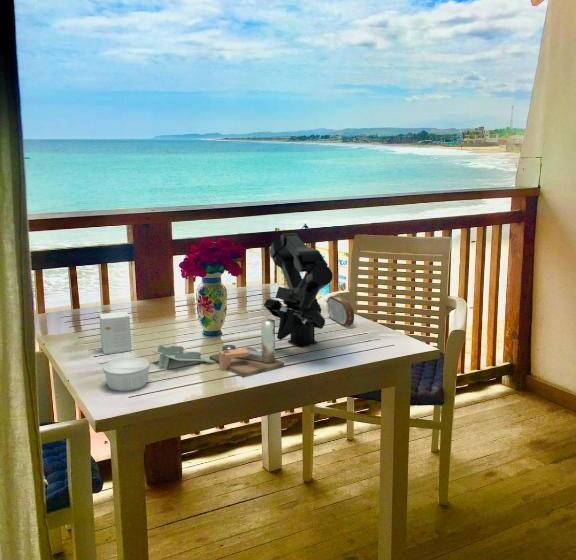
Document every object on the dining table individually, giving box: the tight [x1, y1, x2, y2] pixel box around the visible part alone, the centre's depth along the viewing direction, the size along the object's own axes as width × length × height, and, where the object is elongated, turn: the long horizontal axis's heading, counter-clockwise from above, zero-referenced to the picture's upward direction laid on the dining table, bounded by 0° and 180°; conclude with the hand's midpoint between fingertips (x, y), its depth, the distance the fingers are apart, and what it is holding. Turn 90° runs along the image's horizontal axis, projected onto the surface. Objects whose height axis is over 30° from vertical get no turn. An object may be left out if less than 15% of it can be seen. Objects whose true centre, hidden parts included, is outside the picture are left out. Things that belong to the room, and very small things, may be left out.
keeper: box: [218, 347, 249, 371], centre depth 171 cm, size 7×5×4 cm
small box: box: [98, 311, 132, 355], centre depth 184 cm, size 8×6×10 cm
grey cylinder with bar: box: [221, 318, 276, 363], centre depth 174 cm, size 16×4×11 cm, turn 66°
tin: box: [327, 294, 355, 327], centre depth 212 cm, size 15×3×8 cm, turn 22°
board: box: [209, 346, 285, 378], centre depth 175 cm, size 13×17×1 cm
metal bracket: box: [151, 345, 217, 371], centre depth 175 cm, size 14×6×15 cm
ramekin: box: [102, 356, 151, 392], centre depth 159 cm, size 11×11×5 cm
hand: (278, 338), depth 174 cm, fingers closed
